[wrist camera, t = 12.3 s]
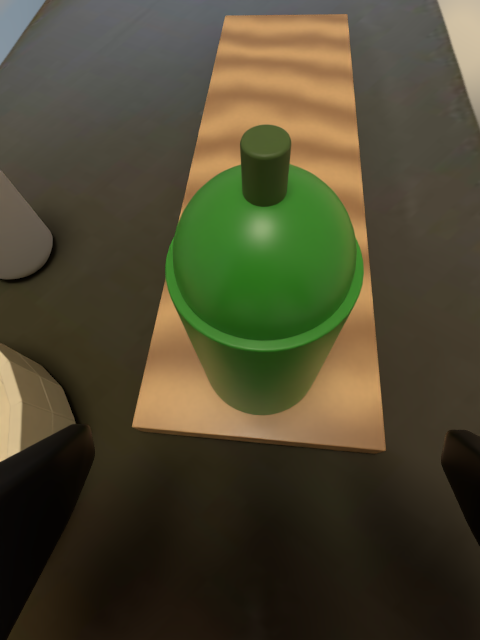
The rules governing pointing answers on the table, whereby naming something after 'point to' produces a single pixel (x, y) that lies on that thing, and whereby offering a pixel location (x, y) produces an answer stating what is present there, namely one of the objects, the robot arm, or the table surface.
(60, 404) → the bowl
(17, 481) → the robot arm
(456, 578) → the table surface
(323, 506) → the table surface
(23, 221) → the beverage can
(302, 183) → the green spray can
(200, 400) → the cutting board
